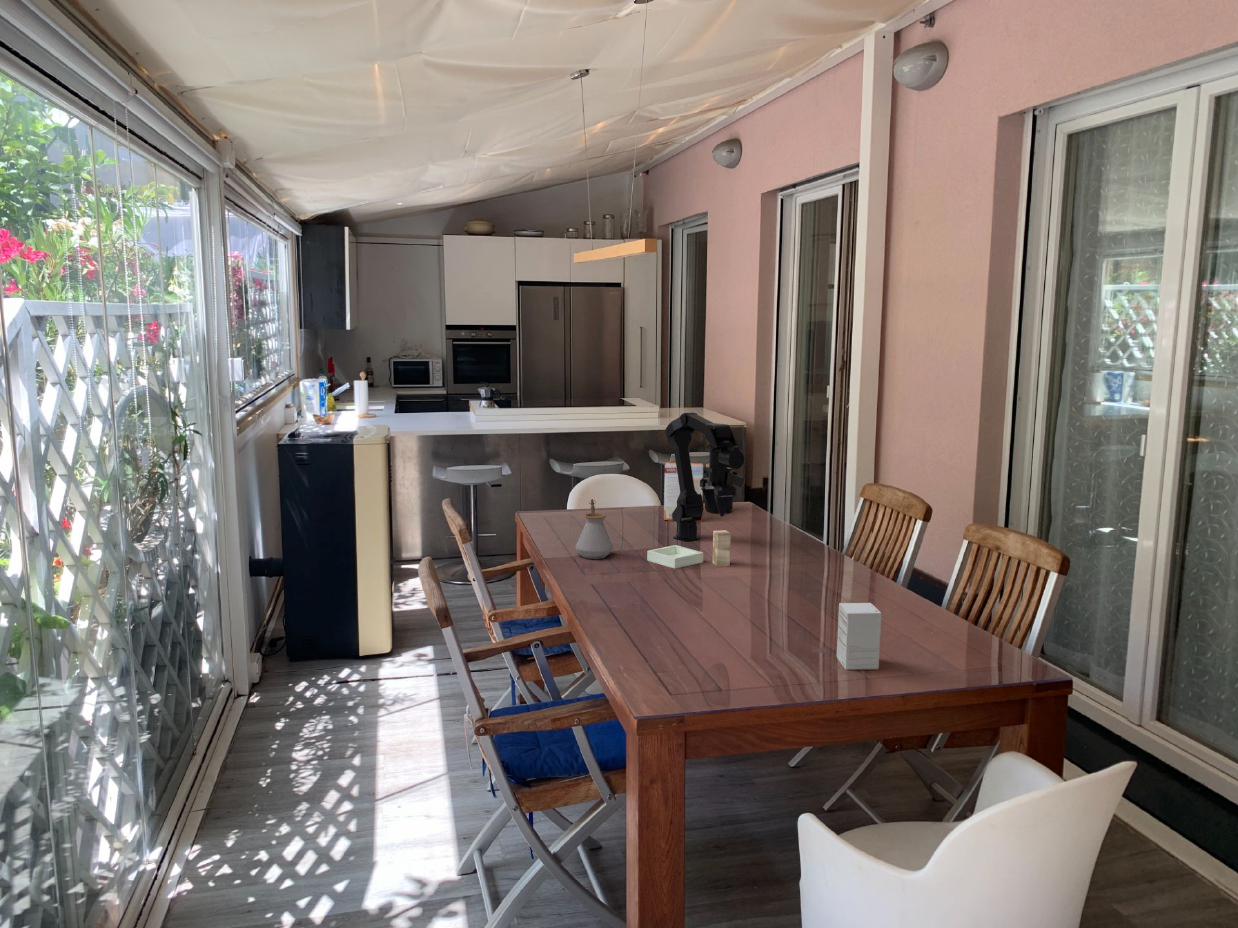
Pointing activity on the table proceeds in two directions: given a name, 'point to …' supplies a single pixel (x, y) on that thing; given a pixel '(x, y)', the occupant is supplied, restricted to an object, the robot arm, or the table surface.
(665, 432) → the robot arm
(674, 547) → the tray
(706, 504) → the coffee jar
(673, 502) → the cracker box
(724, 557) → the handle block
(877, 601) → the table surface
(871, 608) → the supplement box
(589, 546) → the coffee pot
